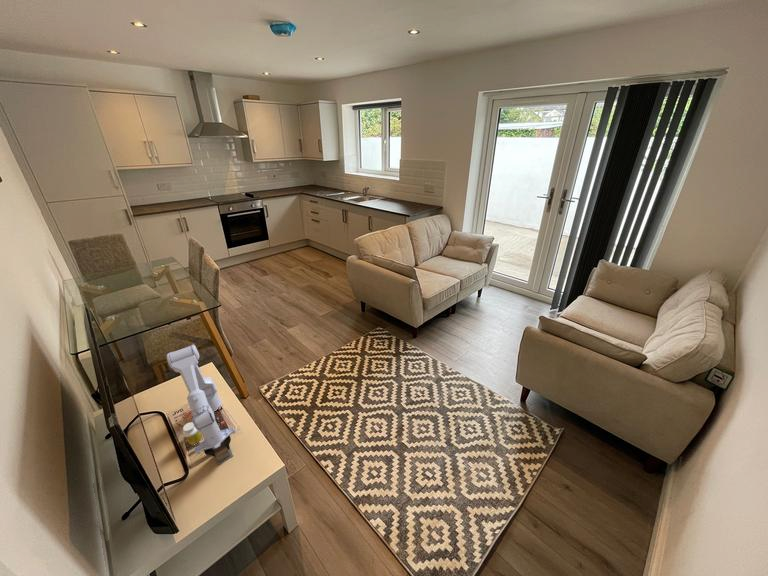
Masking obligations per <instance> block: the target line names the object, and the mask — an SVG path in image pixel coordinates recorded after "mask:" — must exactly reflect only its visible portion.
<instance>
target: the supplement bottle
mask: <svg viewBox="0 0 768 576" xmlns="http://www.w3.org/2000/svg"><path fill="white" fill-rule="evenodd" d="M182 430H183V437H184V436H185V437H186V441H187V443H188V444H189V445H190V444H191V446H195V445H194V444H196V443H198V442H199V441H201V439H202V438H203V439H204V437H203V435H202V434H201V432H199V431H198V430H197V429H196V428H195V426H194V424H193V421H190V422H187V423H185V424H184V425H183V427H182ZM203 439H202V440H203ZM201 442H202V441H201ZM198 444H199V443H198Z"/></svg>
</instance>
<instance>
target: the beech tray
mask: <svg viewBox="0 0 768 576" xmlns="http://www.w3.org/2000/svg"><path fill="white" fill-rule="evenodd" d="M184 439H186V437H185V436H184V435H183V436H182V437H181V441H182V446H183V449H184V454H185V458H186V462H187V466H188V468H189V469H191V468H192V466H193V467H194V466H197V465H198V464H199V463H201V462H202V461H205V460H206V459H208V458H210V457H213V456H212V455H206V454H205V455H203V456H201V457H200V458H197V459H196V460H194V461H192V462H191V460H189V459H190V457H189V456H188V455H189V453H188V454H187V451H188V448H187V449H186V447H187V444H186V445H185V443H186V441H185V440H184ZM186 440H187V439H186Z"/></svg>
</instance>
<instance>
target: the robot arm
mask: <svg viewBox="0 0 768 576" xmlns="http://www.w3.org/2000/svg"><path fill="white" fill-rule="evenodd" d="M198 360H200V353H199V351H198V348H197V347H196V345H195V344H191V345H188V346H186V347H184V348H181V349H178V350H174V351H171V352H168V353H167V354H166V361H167V363H168V366H169V368H170V369H172V370H173V371H174V372H176V373H180V376H181V378H182V379H183V383H184V384H185V387H186V389H187V391H188V395H187V397H186V400H187V402H188V405H189V406H188V407H189V409H190V412H191V414H192V416H191V422H192V423H193V424H194V426H195V428H196V429H197V430H198V431H199V432H201V434H202V435H203V439H204V440H202V441H201V442H200V443H199V444H197V446H196V447H194V448H193V449H194V452H195V455H199V454H200V453H201V452H202V451H203V452H204V454H205V455H212V456H211V457H214V458H215V457H216V456H215V454H214V451H213V447H214V448H215V449H216V448H218V447H220V443H221V442H223V441H224V443H225V445H226V446H227V449H228V450H229V449H231V447H230V448H229V446H230V443H231V441H232V438H231V435H232V434H233V435H234V434H236V432H237V431H236V429H235V427H234V426H232V427H229V428H225V429H220V427H219V425H218V422H217V421H216V416H215V413H214V411H216V410H217V409H218V407H219V406H220V405H221V406H222V408H223V409H224V406H223V404H222V401H221V399H220V397H219V395H218V394H217V393H218V392H217V391H218V389H217V384H216V383H215V380H213V378H212V377H210V376H203V373H202V371H201V370H200V368H199V366H198V364H199V361H198Z"/></svg>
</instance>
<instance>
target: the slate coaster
mask: <svg viewBox="0 0 768 576" xmlns="http://www.w3.org/2000/svg"><path fill="white" fill-rule="evenodd" d="M229 448H230V449H229V452H230V456H228V457H226V458H225V459H223V460H221V461H220V462H219V461H218V459H217V458H216V457H214V458H215V461H216V465H217V466H220V465H221V464H223V463H224V462H225V461H227V460H229V459H231V458H232V457H234V455H233V452H232V449H231V446H230V445H229Z"/></svg>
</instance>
